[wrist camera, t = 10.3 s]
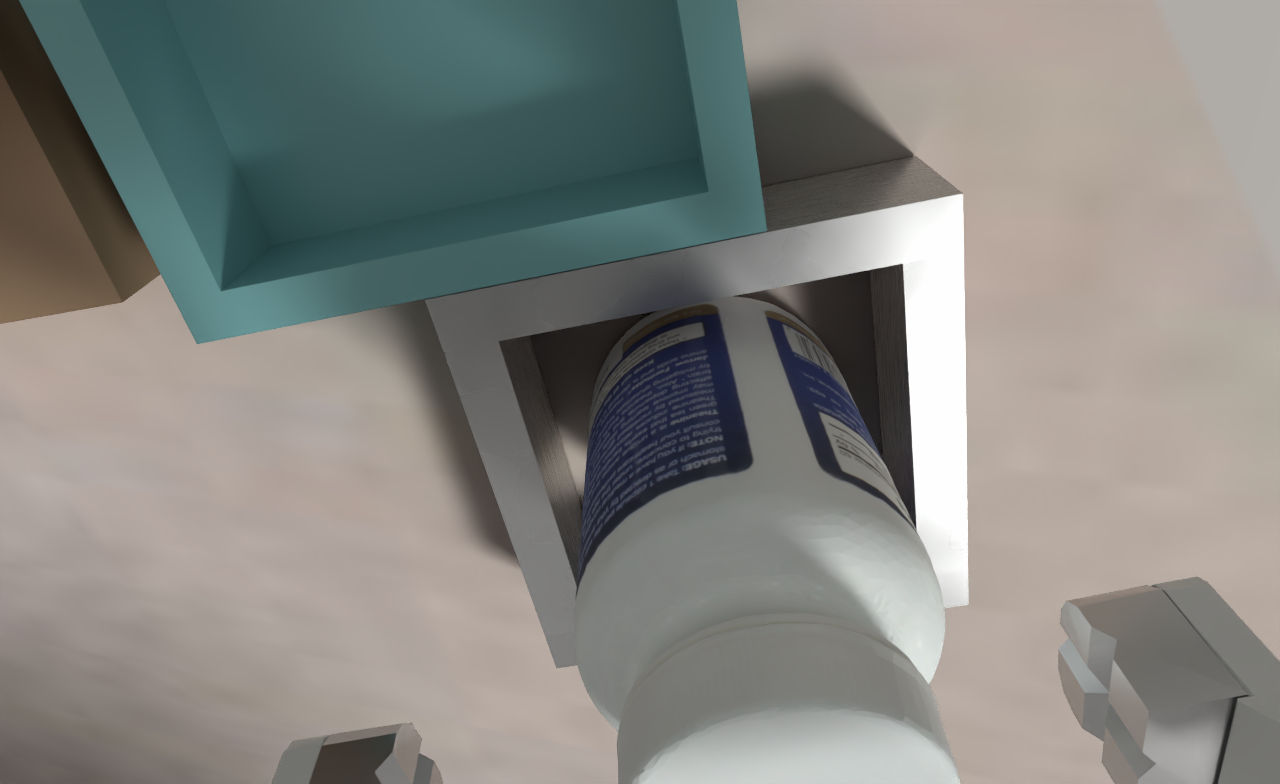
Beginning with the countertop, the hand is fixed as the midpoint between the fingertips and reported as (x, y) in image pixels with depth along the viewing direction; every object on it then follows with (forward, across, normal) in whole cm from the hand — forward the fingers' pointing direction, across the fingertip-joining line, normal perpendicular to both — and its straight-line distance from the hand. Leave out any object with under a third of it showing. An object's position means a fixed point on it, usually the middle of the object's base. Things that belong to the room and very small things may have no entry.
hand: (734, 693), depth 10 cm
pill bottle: (+9, -1, +1) cm, 9 cm away
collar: (+8, -1, +1) cm, 8 cm away
